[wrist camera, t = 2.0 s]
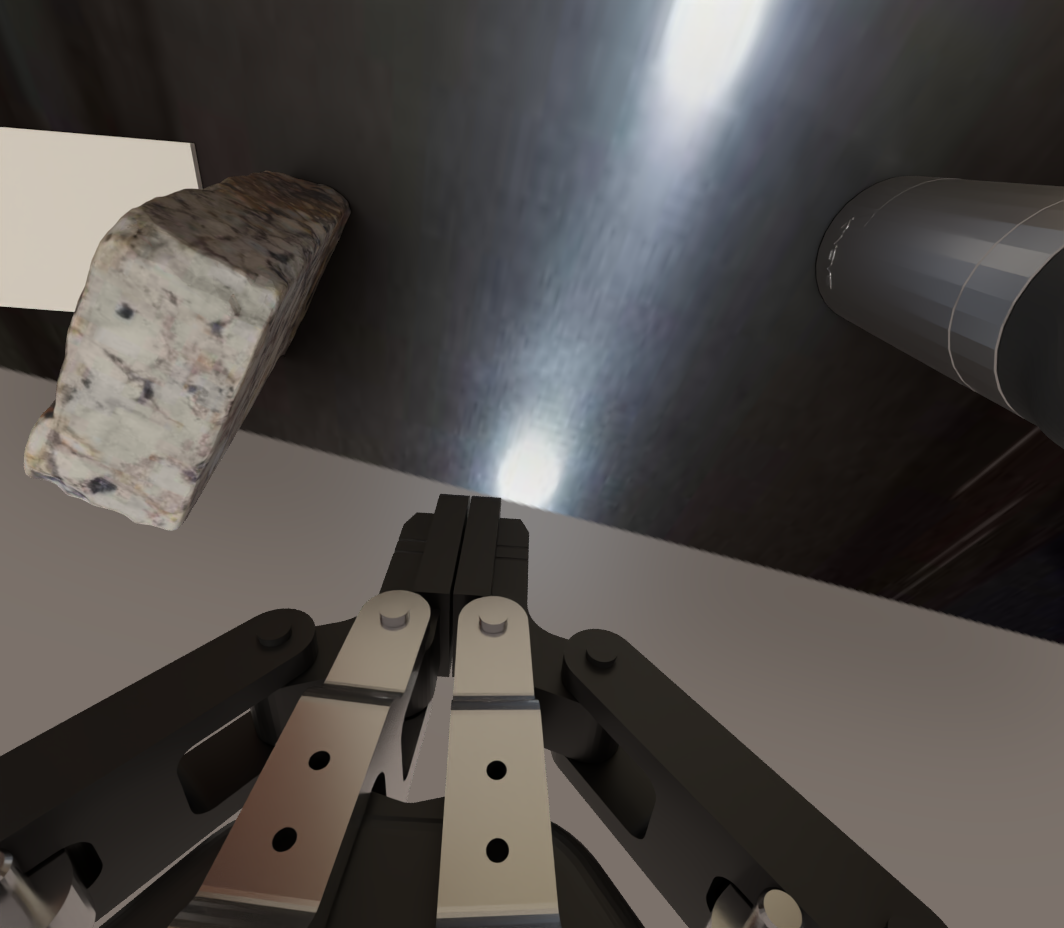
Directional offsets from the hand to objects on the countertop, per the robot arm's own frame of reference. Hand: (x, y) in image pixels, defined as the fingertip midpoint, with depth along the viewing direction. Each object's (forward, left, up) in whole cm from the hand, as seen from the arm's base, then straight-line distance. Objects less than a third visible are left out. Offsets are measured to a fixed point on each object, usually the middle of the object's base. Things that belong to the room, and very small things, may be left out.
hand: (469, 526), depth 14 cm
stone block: (+16, 0, -28) cm, 32 cm away
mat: (+29, -1, -28) cm, 41 cm away
